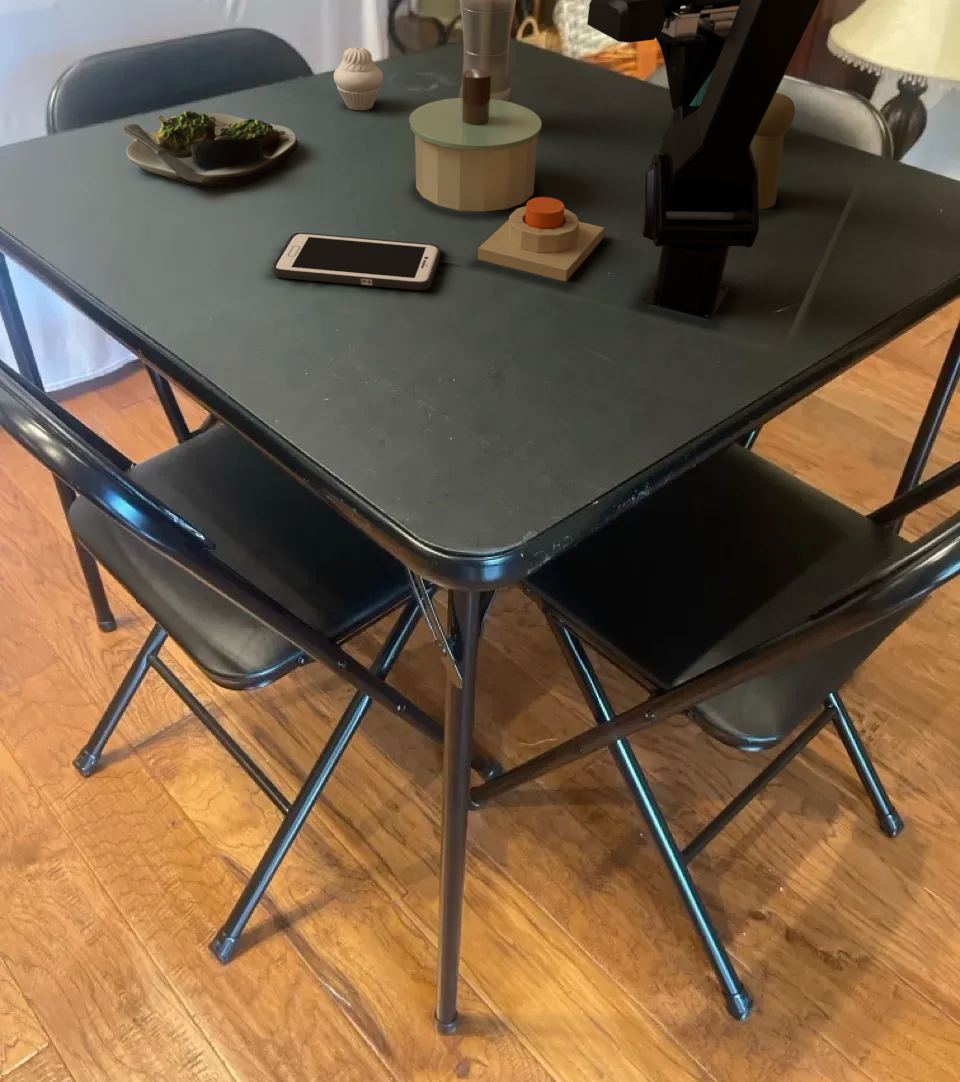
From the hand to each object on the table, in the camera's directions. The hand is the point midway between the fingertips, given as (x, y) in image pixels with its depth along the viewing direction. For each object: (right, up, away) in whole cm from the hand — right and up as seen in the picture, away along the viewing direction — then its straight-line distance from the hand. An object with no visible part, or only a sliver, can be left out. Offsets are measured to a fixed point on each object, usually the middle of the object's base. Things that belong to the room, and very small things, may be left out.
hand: (678, 110), depth 85 cm
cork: (+11, -3, +15) cm, 18 cm away
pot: (-19, -2, +15) cm, 24 cm away
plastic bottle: (-18, +11, +28) cm, 35 cm away
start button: (-12, -10, +2) cm, 16 cm away
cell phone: (-30, -14, +1) cm, 33 cm away
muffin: (-34, +15, +32) cm, 49 cm away
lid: (-19, +3, +9) cm, 21 cm away
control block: (-12, -12, +4) cm, 18 cm away
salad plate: (-48, +3, +18) cm, 52 cm away
